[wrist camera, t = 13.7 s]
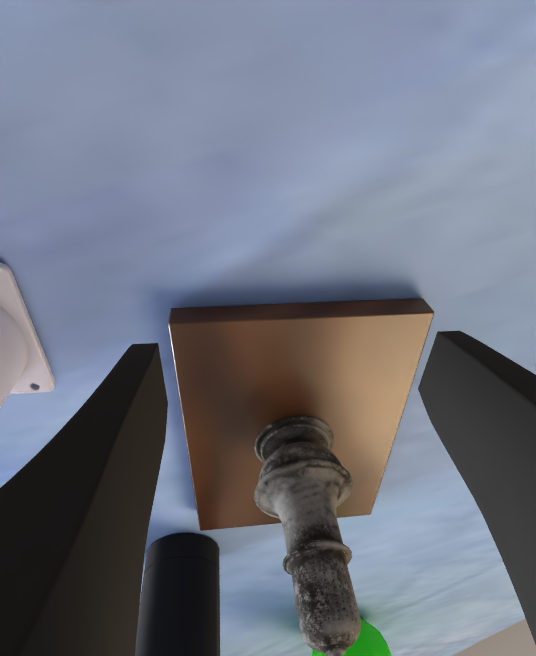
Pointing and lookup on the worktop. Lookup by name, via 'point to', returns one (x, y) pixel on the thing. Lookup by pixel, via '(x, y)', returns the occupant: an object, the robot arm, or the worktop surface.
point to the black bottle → (180, 598)
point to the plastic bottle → (365, 643)
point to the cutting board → (292, 391)
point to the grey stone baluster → (310, 527)
